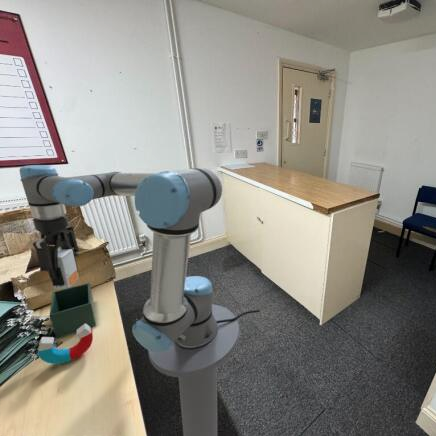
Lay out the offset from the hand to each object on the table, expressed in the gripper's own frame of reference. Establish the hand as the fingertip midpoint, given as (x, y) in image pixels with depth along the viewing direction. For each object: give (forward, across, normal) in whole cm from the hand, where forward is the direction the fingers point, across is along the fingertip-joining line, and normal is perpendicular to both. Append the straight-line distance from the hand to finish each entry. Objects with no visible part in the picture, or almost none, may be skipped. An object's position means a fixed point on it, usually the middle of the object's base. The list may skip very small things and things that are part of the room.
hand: (66, 278), depth 80 cm
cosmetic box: (+2, 0, 0) cm, 2 cm away
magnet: (+18, +17, +8) cm, 26 cm away
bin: (+18, 0, 0) cm, 18 cm away
